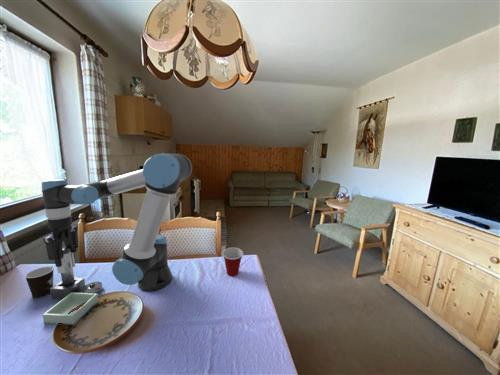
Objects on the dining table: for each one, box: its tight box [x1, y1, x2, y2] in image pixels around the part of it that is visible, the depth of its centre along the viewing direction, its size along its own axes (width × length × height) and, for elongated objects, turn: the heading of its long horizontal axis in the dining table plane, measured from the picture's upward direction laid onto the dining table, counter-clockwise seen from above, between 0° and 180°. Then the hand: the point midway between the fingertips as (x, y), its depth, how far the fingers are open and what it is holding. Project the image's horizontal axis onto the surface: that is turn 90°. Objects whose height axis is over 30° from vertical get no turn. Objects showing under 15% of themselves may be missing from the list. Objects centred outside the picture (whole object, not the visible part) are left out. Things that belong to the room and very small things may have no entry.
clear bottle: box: [60, 246, 75, 285], centre depth 89 cm, size 4×4×16 cm
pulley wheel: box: [81, 281, 103, 295], centre depth 93 cm, size 7×7×3 cm
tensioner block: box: [50, 276, 86, 301], centre depth 91 cm, size 8×8×5 cm
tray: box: [42, 292, 99, 326], centre depth 81 cm, size 11×12×4 cm
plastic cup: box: [222, 247, 244, 277], centre depth 109 cm, size 11×11×12 cm
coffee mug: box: [24, 265, 54, 299], centre depth 92 cm, size 12×9×10 cm
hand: (66, 269), depth 90 cm, fingers closed on clear bottle, 4 cm apart
